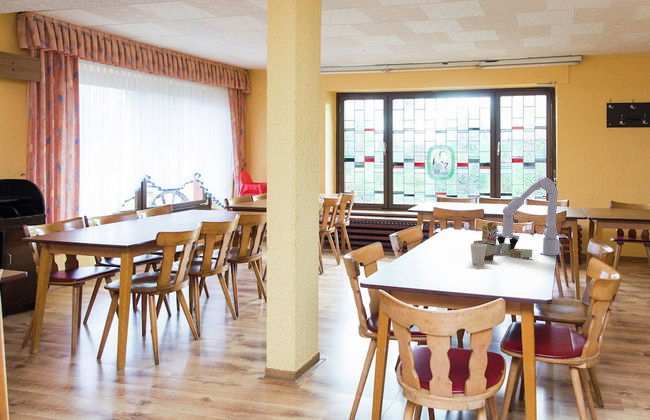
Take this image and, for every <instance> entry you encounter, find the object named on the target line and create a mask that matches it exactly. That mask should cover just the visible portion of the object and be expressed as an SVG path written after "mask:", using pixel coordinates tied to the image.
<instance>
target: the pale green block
mask: <svg viewBox="0 0 650 420" xmlns="http://www.w3.org/2000/svg"><path fill="white" fill-rule="evenodd" d="M520 249H521V253H520V258H522V259H524V260H530V259H531V258H533V249H531V248H530V249H529V248H520Z"/></svg>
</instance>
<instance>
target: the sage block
mask: <svg viewBox="0 0 650 420" xmlns="http://www.w3.org/2000/svg"><path fill="white" fill-rule="evenodd" d="M501 254H507V255H508V254H510V242H504V243H502V247H501Z"/></svg>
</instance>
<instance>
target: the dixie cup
mask: <svg viewBox="0 0 650 420" xmlns="http://www.w3.org/2000/svg"><path fill="white" fill-rule="evenodd" d="M469 246H470V253H471V263H473V265H478V264H479V265H480V264H481V265H484V264H485V261H484V258H485V251H486V246H487V245H486V244H480V243H470V245H469Z"/></svg>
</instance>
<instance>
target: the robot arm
mask: <svg viewBox="0 0 650 420" xmlns="http://www.w3.org/2000/svg"><path fill="white" fill-rule="evenodd" d="M538 190H544V191H545V192H547V194H548V196H547V197H548V200H547V208H546V209H547V210H546V221H545V226H544V228H543V235H544V237H543V242H542V252H539V254H540V255H544V256H557V255H562V253H561V241H560V240H559V239H558V238H557V236H558V229H557V223H556V221H557V208H558V194H559V189H558V188H557V187H556V185H555V183H554V181H552V179H550V178H549V177H548V176H547V177H545V176H541V177H538V179H537V180H535V181H534V182H532V184H531V185H530V186H528V188H527V189H526V190H525V191H524V192H523V193H521V194H520V195H516V196H514V197H513V198H512V200H511V201H510V202H508V203H507V205H505V206H504V207H503V209H502V213H503V215H502V217H503V218H502V233H499V232H497V233H496V237H497V239H496V241H497V242H498V244H501V247H502V243H506V239H509V243H510V249H516V245H517V243H518V241H519V240H520V235H516V234H514V215H515V212H516V211H518V210H519V209H520V208H521V207H522V206H523V205H524V204H525V201H526V199H528V197H530V196H531V195H532V194H533V193H534V192H535V191H538Z"/></svg>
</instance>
